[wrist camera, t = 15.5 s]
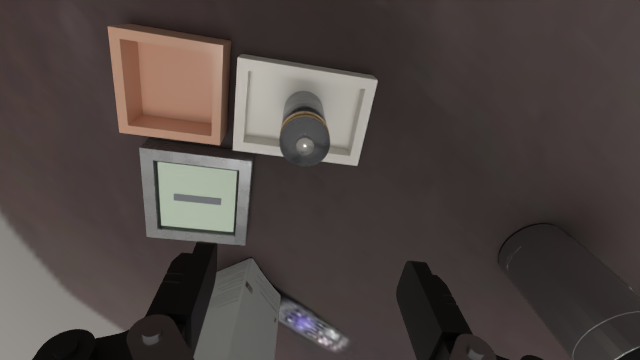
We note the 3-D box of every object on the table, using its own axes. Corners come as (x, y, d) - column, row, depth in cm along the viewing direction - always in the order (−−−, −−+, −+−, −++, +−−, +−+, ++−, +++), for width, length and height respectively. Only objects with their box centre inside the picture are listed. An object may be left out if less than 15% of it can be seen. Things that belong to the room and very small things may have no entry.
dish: (231, 40, 31) (223, 45, 28) (227, 131, 36) (219, 145, 32) (129, 23, 30) (107, 26, 27) (137, 119, 34) (119, 132, 31)
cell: (326, 93, 34) (336, 125, 25) (319, 132, 36) (326, 173, 27) (286, 87, 33) (281, 117, 25) (281, 126, 35) (275, 167, 27)
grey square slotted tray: (254, 152, 37) (251, 161, 35) (247, 232, 42) (245, 245, 40) (149, 138, 35) (139, 147, 33) (155, 224, 40) (146, 236, 38)
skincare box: (281, 294, 47) (276, 407, 34) (244, 309, 48) (225, 425, 35) (249, 253, 43) (230, 362, 30) (210, 271, 44) (174, 384, 31)
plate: (239, 165, 37) (236, 171, 35) (235, 224, 40) (233, 232, 39) (162, 155, 36) (157, 162, 34) (165, 217, 39) (160, 225, 38)
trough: (372, 75, 34) (377, 80, 32) (353, 156, 38) (357, 165, 36) (241, 53, 32) (237, 57, 30) (236, 141, 36) (232, 150, 34)
